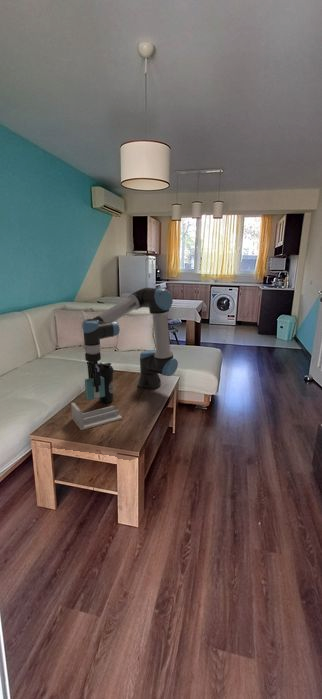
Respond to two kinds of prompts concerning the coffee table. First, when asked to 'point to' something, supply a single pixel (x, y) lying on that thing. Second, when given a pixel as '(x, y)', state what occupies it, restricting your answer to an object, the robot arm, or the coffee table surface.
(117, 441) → the coffee table surface
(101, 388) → the teal sliding block
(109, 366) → the water bottle
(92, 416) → the track
